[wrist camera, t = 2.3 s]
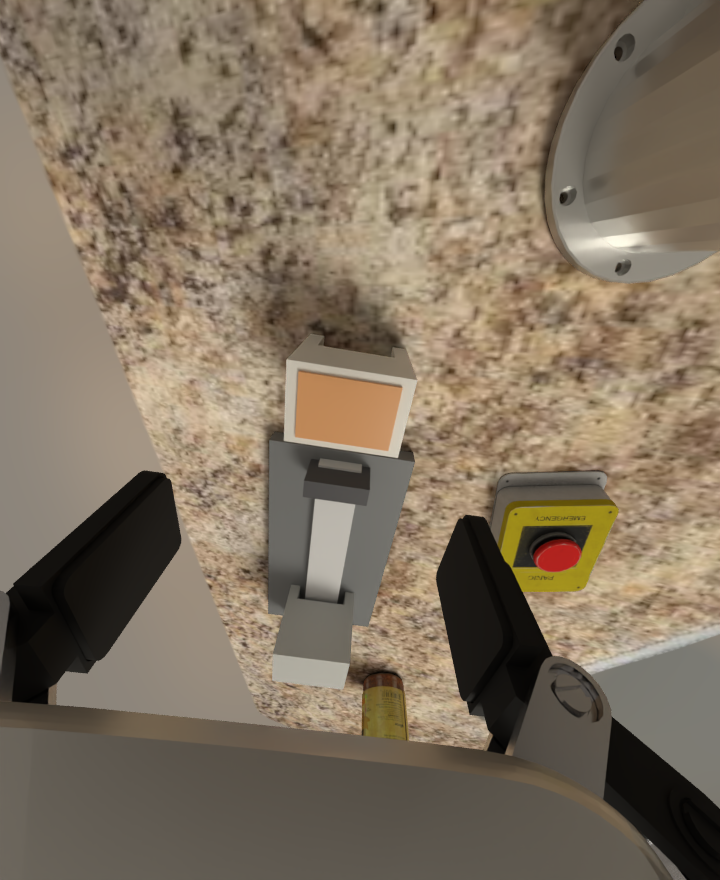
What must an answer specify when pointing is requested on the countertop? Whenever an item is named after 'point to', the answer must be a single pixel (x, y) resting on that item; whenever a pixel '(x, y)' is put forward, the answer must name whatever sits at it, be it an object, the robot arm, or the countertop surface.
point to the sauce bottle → (384, 707)
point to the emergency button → (552, 527)
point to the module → (347, 398)
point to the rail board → (327, 551)
